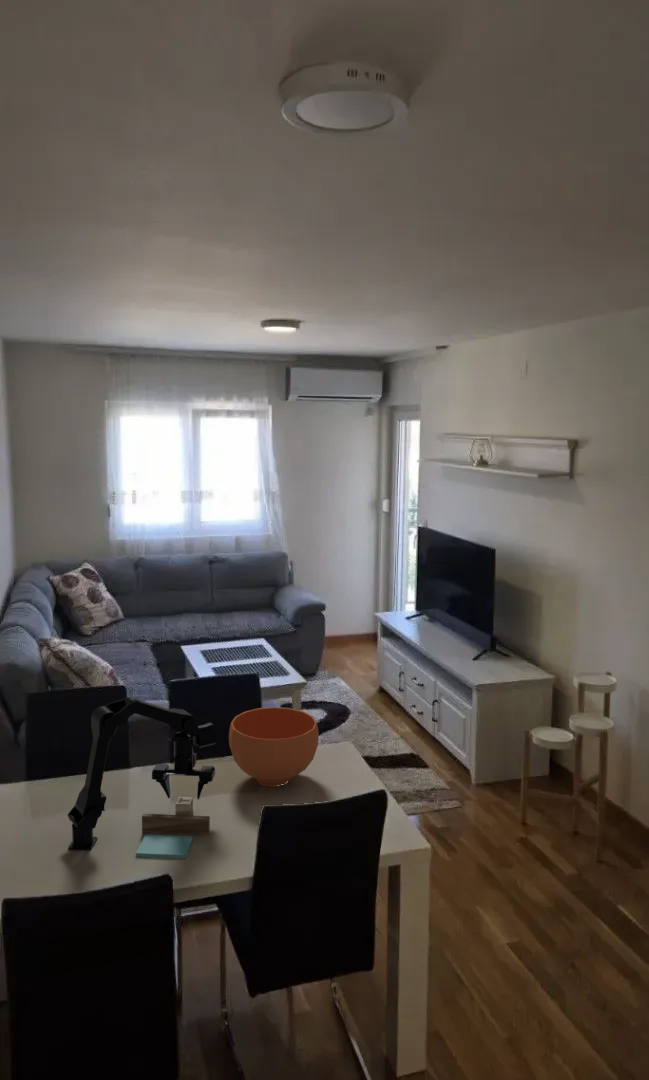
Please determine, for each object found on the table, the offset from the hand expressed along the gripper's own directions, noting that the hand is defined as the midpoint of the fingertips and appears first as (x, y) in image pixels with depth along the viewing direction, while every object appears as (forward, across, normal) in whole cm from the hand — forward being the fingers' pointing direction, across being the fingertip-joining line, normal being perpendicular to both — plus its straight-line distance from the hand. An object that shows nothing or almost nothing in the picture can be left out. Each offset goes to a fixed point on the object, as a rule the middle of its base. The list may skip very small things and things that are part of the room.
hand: (183, 798), depth 244 cm
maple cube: (+5, 0, 0) cm, 5 cm away
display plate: (+5, +1, +20) cm, 21 cm away
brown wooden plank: (+5, 0, +11) cm, 12 cm away
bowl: (+5, -25, -26) cm, 37 cm away
